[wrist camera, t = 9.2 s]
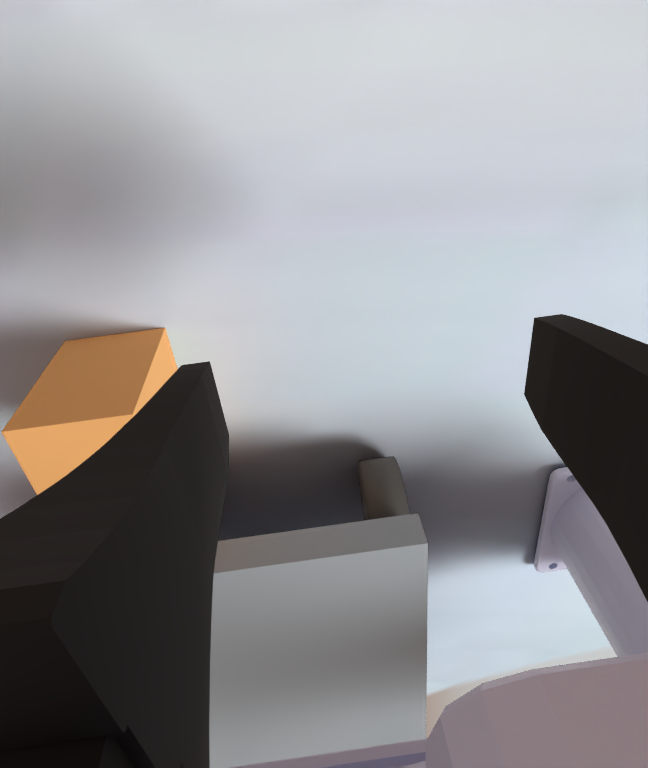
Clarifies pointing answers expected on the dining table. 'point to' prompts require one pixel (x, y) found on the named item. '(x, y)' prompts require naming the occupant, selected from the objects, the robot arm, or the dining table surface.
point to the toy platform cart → (321, 633)
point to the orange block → (86, 400)
